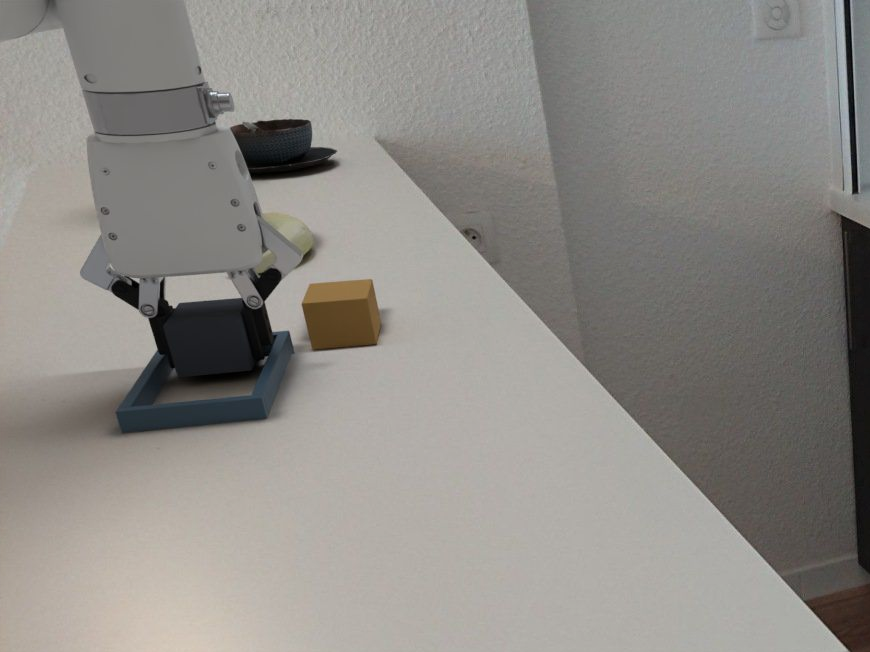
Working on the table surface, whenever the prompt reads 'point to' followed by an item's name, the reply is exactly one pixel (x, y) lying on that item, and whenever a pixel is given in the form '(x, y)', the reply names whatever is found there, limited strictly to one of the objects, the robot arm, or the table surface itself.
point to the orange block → (341, 314)
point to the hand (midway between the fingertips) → (220, 356)
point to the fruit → (286, 236)
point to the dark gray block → (208, 338)
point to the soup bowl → (278, 145)
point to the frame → (145, 416)
